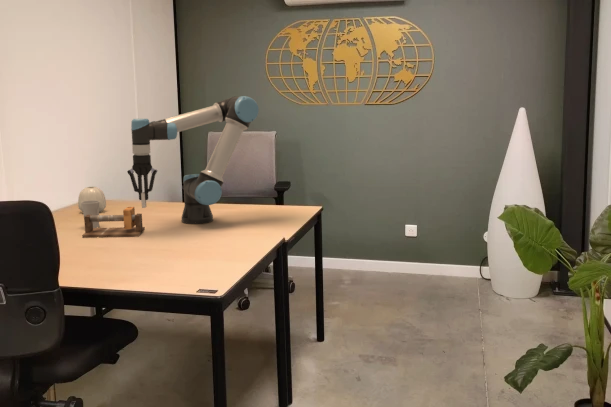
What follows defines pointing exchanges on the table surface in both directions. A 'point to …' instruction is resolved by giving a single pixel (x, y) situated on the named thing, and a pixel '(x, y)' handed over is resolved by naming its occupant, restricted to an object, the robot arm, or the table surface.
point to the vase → (92, 197)
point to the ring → (128, 217)
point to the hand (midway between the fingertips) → (144, 207)
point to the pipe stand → (111, 232)
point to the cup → (91, 209)
